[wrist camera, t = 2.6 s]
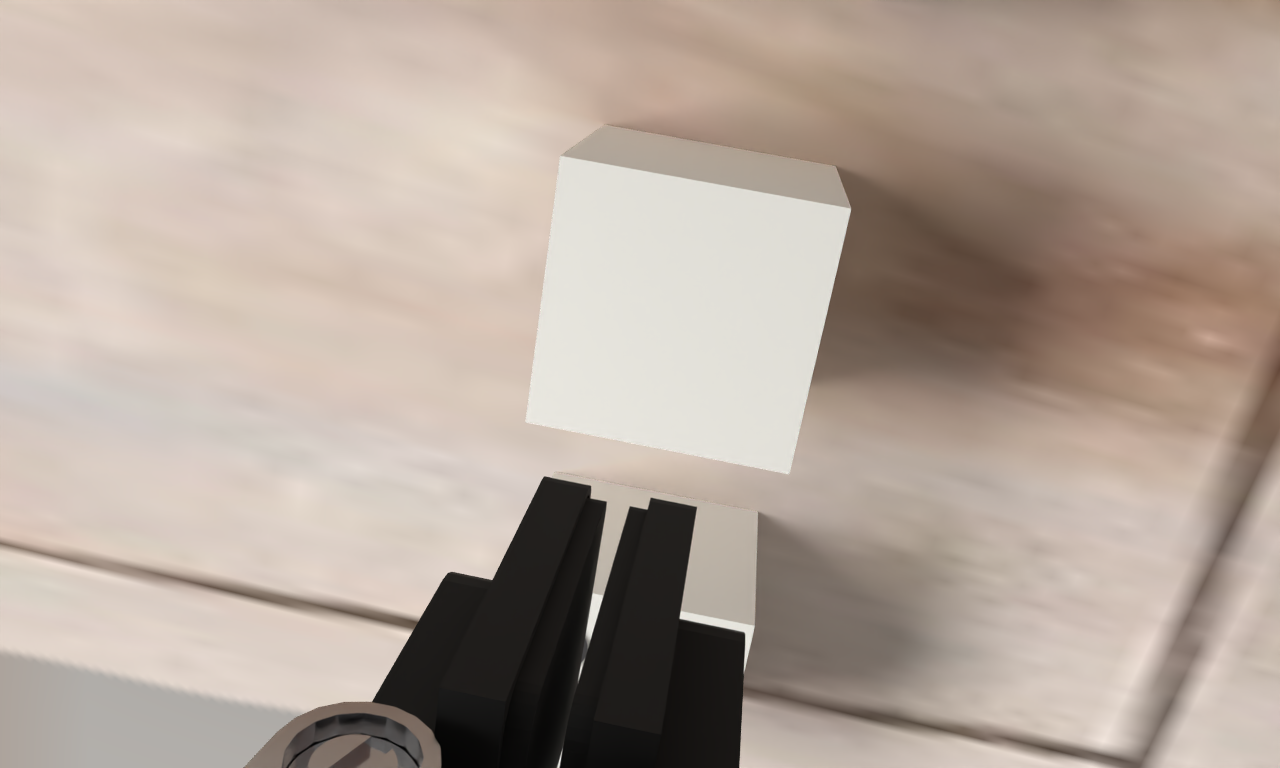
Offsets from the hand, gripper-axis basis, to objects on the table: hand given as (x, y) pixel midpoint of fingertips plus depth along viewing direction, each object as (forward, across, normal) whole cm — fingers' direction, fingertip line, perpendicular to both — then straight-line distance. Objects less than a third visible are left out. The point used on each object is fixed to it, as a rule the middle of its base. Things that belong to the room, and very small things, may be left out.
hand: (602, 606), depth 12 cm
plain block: (+17, 0, 0) cm, 17 cm away
